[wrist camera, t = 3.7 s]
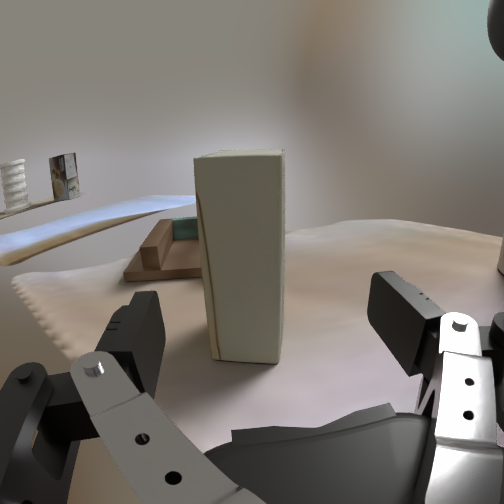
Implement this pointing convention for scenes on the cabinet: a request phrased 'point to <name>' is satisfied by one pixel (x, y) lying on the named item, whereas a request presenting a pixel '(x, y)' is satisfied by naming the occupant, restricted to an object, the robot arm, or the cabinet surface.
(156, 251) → the rack
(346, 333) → the cabinet surface
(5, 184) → the decorative container
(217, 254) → the skincare box
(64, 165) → the coffee box
